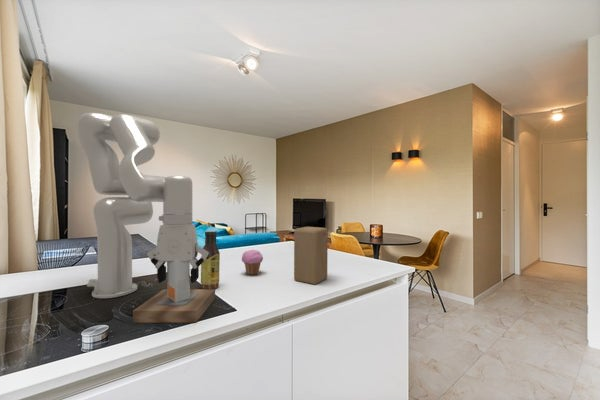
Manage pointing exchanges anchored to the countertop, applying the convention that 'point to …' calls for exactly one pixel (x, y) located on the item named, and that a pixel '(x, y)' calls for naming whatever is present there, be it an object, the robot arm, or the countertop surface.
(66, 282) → the countertop surface
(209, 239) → the sauce bottle
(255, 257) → the cupcake
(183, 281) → the skincare box
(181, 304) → the walnut picture frame
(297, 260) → the wooden block
